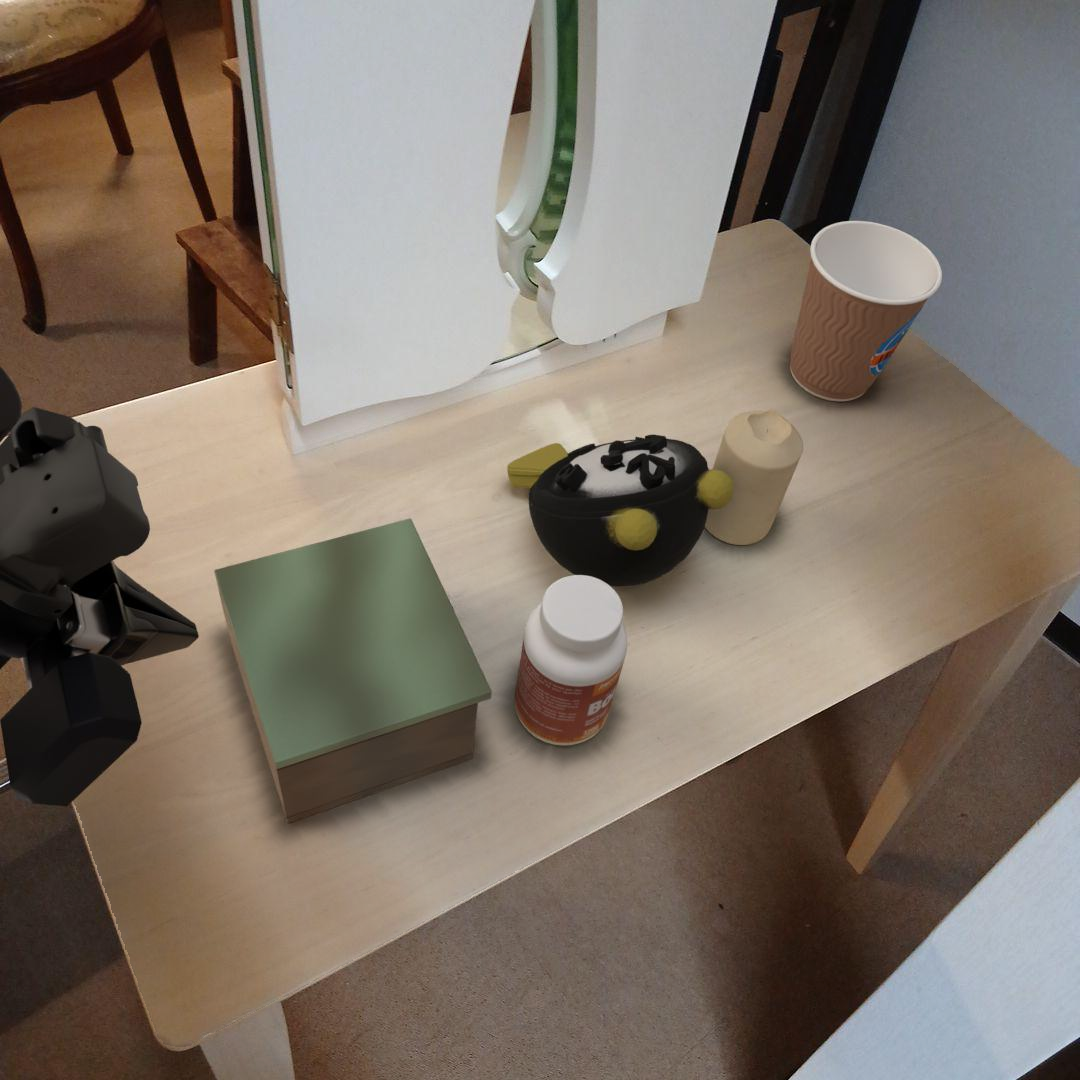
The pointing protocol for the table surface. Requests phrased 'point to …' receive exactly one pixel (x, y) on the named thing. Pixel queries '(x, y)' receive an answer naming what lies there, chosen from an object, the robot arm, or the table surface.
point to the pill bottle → (571, 661)
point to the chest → (366, 758)
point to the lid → (348, 641)
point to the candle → (754, 474)
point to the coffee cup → (858, 305)
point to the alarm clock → (620, 505)
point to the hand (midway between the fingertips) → (192, 636)
